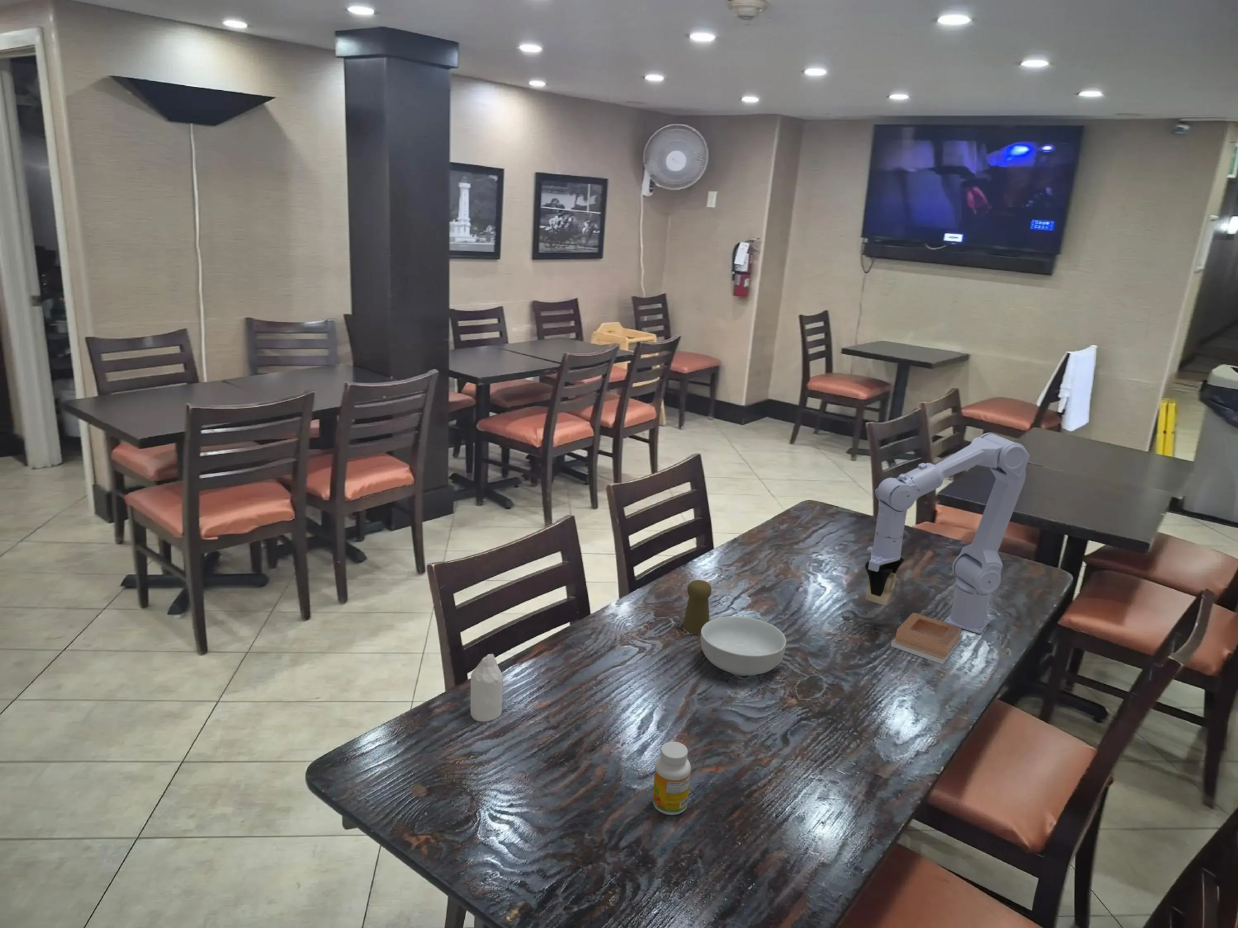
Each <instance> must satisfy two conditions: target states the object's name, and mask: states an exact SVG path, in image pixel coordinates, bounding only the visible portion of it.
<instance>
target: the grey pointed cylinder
mask: <svg viewBox="0 0 1238 928" xmlns="http://www.w3.org/2000/svg"><path fill="white" fill-rule="evenodd" d="M503 689H504V676H503V674H502V671H501V669H500V666H498V662H497V659H496V658H495V655H494V654H493V653H489V654H487V655H486V656H484V657H483V658H482V659H481V661H480V662H479V663H478V664H477V666H475V668H474V669H473V670H472V672H471V675H470V716H471V718H473V719H474V721H477V722H481V723H483V722H491V721H493V720H495V719H497V718H499V717H500V716H501V715H502V712H503V691H504V690H503Z"/></svg>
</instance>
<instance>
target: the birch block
mask: <svg viewBox="0 0 1238 928" xmlns="http://www.w3.org/2000/svg"><path fill="white" fill-rule="evenodd" d="M867 579H868V581H867V585H866V593H865V597H864V599H865V600H867V601H869V602H872V603H876V604H879V605H882V606H887V605H888V604H889V603H890V602H891V601H892V600H893V598H894V592H895V586H896V580H897V573H896V574H895V573H892V572H891V574H890V575H889V577H888V579H887V581H886V584H885V587H884V590H883V593H882V595H881V596H880V597H879V596H876V595H873V594H871V590H870V581H869V577H868V578H867Z"/></svg>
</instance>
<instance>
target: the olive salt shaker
mask: <svg viewBox="0 0 1238 928" xmlns="http://www.w3.org/2000/svg"><path fill="white" fill-rule="evenodd" d="M712 591H713V590H712V586H711V584H710V583H709V582H707V581H706V580H702V579H694V580H692V581H690V582H689V583H688V585H687V595H688V600H687V604H686V608H685V609H686V610H685V613H684V618H683V623H682V626H683V627H682V629H683V628H684V629H685V630H686V631H688V632H689V633H692V634H691V635H693V634H701V629H702V627H703V626H704V625H705V624H706V623H707V622H709V621H710V610H709V609H710V607H709V606H710V605H709V598H710V597H711V594H712ZM689 633H688V634H689Z"/></svg>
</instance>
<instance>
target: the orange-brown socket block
mask: <svg viewBox="0 0 1238 928" xmlns="http://www.w3.org/2000/svg"><path fill="white" fill-rule="evenodd" d="M961 632H962V628H960V627H957V626H954V625H951V624H948V623H945V622H944V621H941V620H939V619H935V618H932V617H929V616H925V615H922V614H919V613H916V612H912V613H911V614H910V615H909V616H908V617H907V618H906V619H905V620H904V621H903V622H902V623H901V625H899V626H898V627H897V629H896V634H895V638H894V639H893V640H892V641H891V642H890V643H891V644H890V647H892V648H895V649H898V650H901V651H904V652H906V653H909V654H912V655H915V656H918V657H921V658H923V659H926V660H930V661H932V662H935V663H937V664H941V665H945V663H946V662H947V660H948V659H949V657H950V656H951V655H952V653H953V652H954V651H955V649H957V648H958V646H959V644H961V642H962V640H963V638H964V637H963V636H964V635H962V634H961Z"/></svg>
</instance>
